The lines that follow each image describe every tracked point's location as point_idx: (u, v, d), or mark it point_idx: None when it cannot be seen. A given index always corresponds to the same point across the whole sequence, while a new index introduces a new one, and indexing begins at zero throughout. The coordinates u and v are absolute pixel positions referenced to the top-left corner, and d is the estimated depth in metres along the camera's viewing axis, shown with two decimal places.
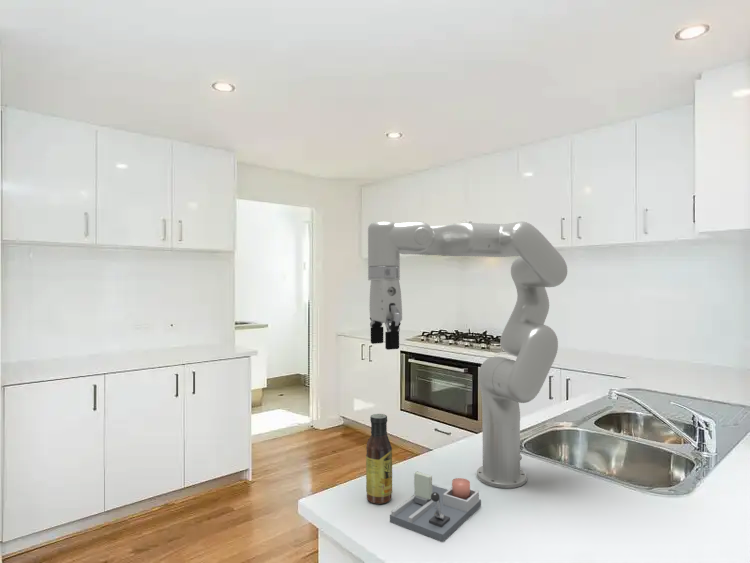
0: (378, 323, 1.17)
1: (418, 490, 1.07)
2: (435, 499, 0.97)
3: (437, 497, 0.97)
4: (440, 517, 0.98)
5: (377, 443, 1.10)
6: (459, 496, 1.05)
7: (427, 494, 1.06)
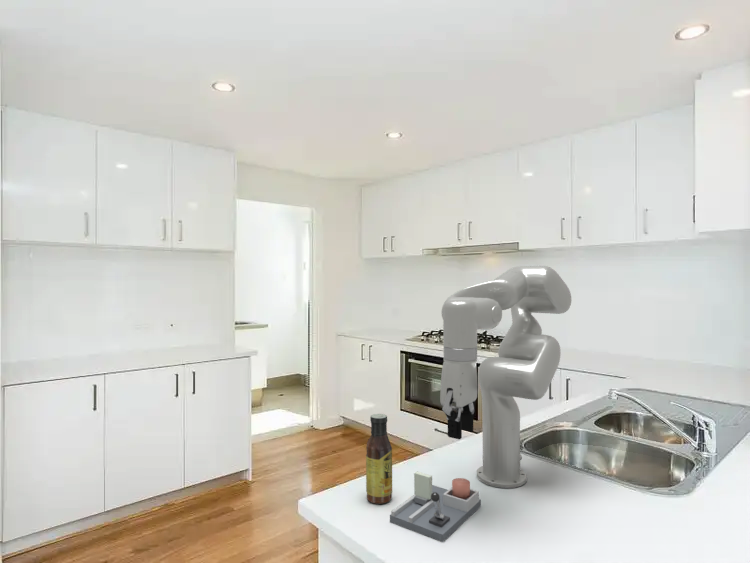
0: None
1: (418, 490, 1.07)
2: (435, 499, 0.97)
3: (437, 497, 0.97)
4: (440, 517, 0.98)
5: (377, 443, 1.10)
6: (459, 496, 1.05)
7: (427, 494, 1.06)
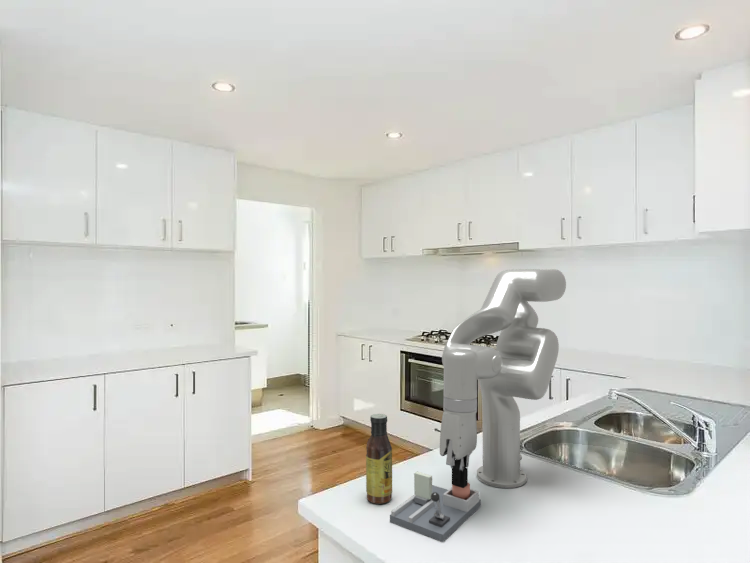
0: None
1: (418, 490, 1.07)
2: (435, 499, 0.97)
3: (437, 497, 0.97)
4: (440, 517, 0.98)
5: (377, 443, 1.10)
6: None
7: (427, 494, 1.06)
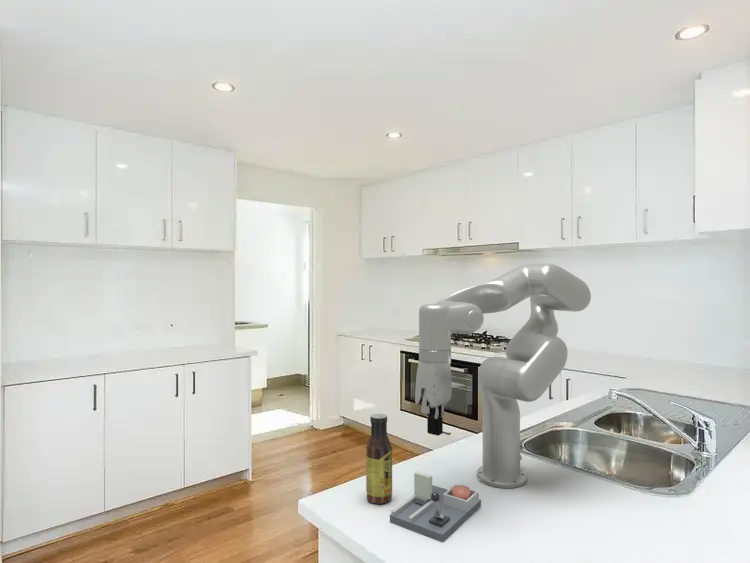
0: None
1: (418, 490, 1.07)
2: (435, 499, 0.97)
3: (437, 497, 0.97)
4: (440, 517, 0.98)
5: (377, 443, 1.10)
6: None
7: (427, 494, 1.06)
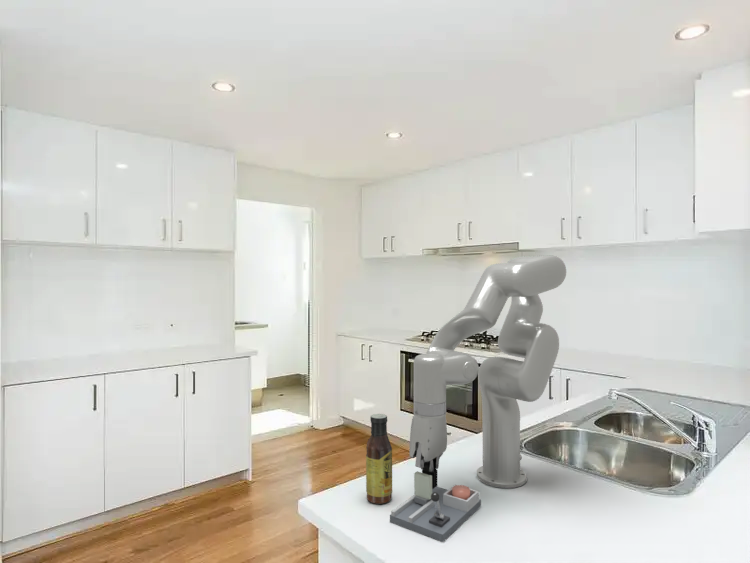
0: None
1: (418, 490, 1.07)
2: (435, 499, 0.97)
3: (437, 497, 0.97)
4: (440, 517, 0.98)
5: (377, 443, 1.10)
6: None
7: (427, 494, 1.06)
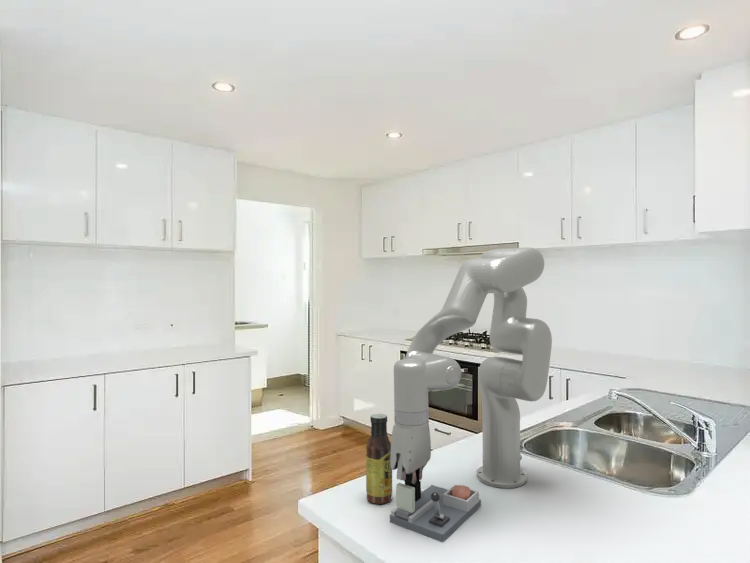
0: None
1: (400, 503, 1.02)
2: (435, 499, 0.97)
3: (437, 497, 0.97)
4: (440, 517, 0.98)
5: (377, 443, 1.10)
6: None
7: (409, 507, 1.00)
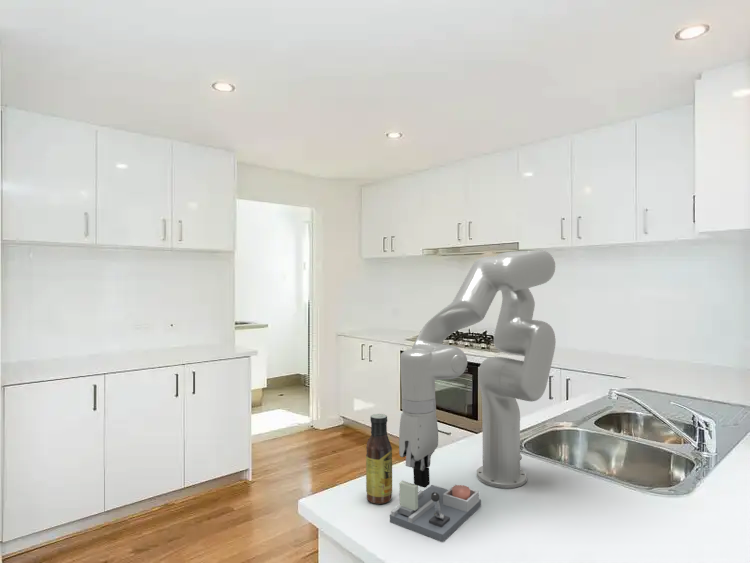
0: None
1: (403, 500, 1.03)
2: (435, 499, 0.97)
3: (437, 497, 0.97)
4: (440, 517, 0.98)
5: (377, 443, 1.10)
6: None
7: (413, 505, 1.01)
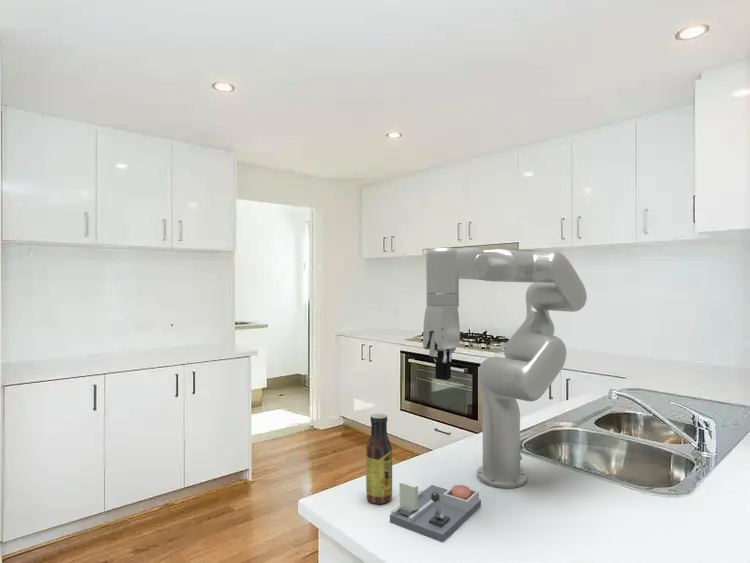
0: None
1: (403, 500, 1.03)
2: (435, 499, 0.97)
3: (437, 497, 0.97)
4: (440, 517, 0.98)
5: (377, 443, 1.10)
6: None
7: (413, 505, 1.01)
